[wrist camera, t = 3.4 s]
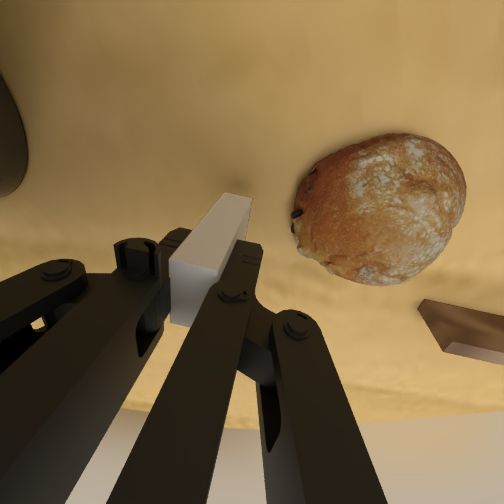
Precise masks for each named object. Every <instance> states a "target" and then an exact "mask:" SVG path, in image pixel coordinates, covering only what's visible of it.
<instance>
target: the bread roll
mask: <svg viewBox="0 0 504 504" xmlns="http://www.w3.org/2000/svg"><path fill="white" fill-rule="evenodd" d="M466 188H467V186H466V182H465V178H464V175H463V171H462V170H461V168H460V166H459V164H458V162H457V161H456V159H455V158H454V157H453V156H452V154H451V153H450V152H449V151H448V150H447V149H445V148H444V147H443V146H442V145H440V144H439V143H437V142H435V141H433V140H431V139H429V138H426V137H422V136H417V135H413V134H405V133H403V134H393V133H392V134H387V135H384V136H377V137H375V138H373V139H371V140H367V141H364V142H362V143H360V144H354V145H352V146H350V147H347V148H344V149H342V150H340V151H338V152H337V153H334V154H331V155H329V156H328V157H326V158H325V159H324V160H322V161H320V162H319V163H317V164H316V165H315V166H314V167H313V168H312V170H311V172H310V173H309V175H308V176H307V177H306V178H305V179H304V180H303V181H302V183H301V184H300V186H299V188H298V193H297V196H296V201H295V205H294V211H293V212H292V213H291V219H292V221H293V224H292V227H291V232H292V233H294V234H295V239H299V240H300V242H299V244H298V245H297V249H298V251H299V253H300V254H301V255H303V256H305V257H306V258H313V259H314V260H317V261H318V262H319V263H320V265H322V266H325V268H326V270H327V271H328V272H329V273H331V274H335V275H337V276H339V277H342V278H345V279H348V280H351V281H354V282H357V283H362V284H367V285H374V286H387V285H394V284H400V283H403V282H406V281H408V280H409V279H411V278H412V277H414V276H416V275H417V274H418V273H420V272H421V271H422V270H424V269H425V268H426V267H427V266H429V265H430V264H431V263H432V262H433V261H434V260H435V259H436V258H437V257H438V256H439V255H440V254H441V253H442V251H443V249H444V248H445V246H446V245H447V244H448V242H449V240H450V238H451V234H452V228H454V227H455V226H456V225H457V224H458V222H459V220H460V218H461V216H462V214H463V211H464V205H465V200H466Z"/></svg>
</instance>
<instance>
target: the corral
mask: <svg viewBox="0 0 504 504" xmlns="http://www.w3.org/2000/svg"><path fill="white" fill-rule="evenodd" d="M418 311H419V312H420V314H421V316H422V317H423V319H424V321H425V322H426V324H427V326H428V327H429V329H430V331H431V332H432V334H433V336H434V337H435V339H436V341H437V342H438V344H439V346H440V348H441V349H442V351H443V352H446V353H451V354H455V355H460V356H464V357H469V358H473V359H477V360H482V361H486V362H491V363H495V364H500V365H504V317H503V316H499V315H494V314H490V313H485V312H480V311H476V310H471V309H467V308H462V307H457V306H453V305H448V304H444V303H439V302H435V301H430V300H424V301H423V302H422V304H421V305H420V306H419V308H418Z"/></svg>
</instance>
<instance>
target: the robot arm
mask: <svg viewBox="0 0 504 504" xmlns="http://www.w3.org/2000/svg"><path fill="white" fill-rule="evenodd" d="M26 161H27V150H26V141H25V136H24V131H23V127H22V124H21V121H20V118H19V115H18V112H17V110H16V107H15V105H14V102H13V100H12V98H11V96H10V94H9V92H8V90H7V88H6V86H5V84H4V82H3V80H2V79H1V77H0V198H1V197H4V196H6V195H8V194H10V193H11V192H13V191H14V190H15V189H16V188H17V187H18V185H19V184H20V182H21V181H22V178H23V176H24V173H25V169H26ZM251 203H252V198H249V197H245V196H240V195H235V194H231V193H226V192H224V193H223V194H222V196H221V197H220V198H219V199H218V200H217V202H216V203H215V204H214V205H213V206H212V208H211V209H210V210H209V211H208V212H207V214H206V215H205V216H204V217H203V218H202V220H201V221H200V222H199V223H198V224H197V226H196V227H195V228H194V229H193V230H190V229H185V228H181V227H180V228H177V229H175V230H173V231H170V232H169V233H168V234H167V235H166V236H165V237H164V239H162V240H161V241H160V242H159V244H158V243H156V242H155V241H153V240H150V239H146V238H129V239H125V240H121V241H119V242H117V243H115V244H114V251H115V257H116V263H117V268H116V269H115V270H114V271H113V272H112V273H86V271H85V267H84V264H82V263H81V262H80V261H77V260H73V259H58V260H51V261H48V262H45V263H42V264H40V265H37V266H35V267H33V268H31V269H28V270H26V271H24V272H22V273H19V274H17V275H15V276H13V277H10V278H8V279H6V280H4V281H1V282H0V504H65V502H66V500H67V499H68V497H69V495H70V494H71V492H72V490H73V488H74V487H75V485H76V483H77V481H78V480H79V478H80V476H81V474H82V473H83V471H84V469H85V467H86V466H87V464H88V462H89V461H90V459H91V457H92V455H93V454H94V452H95V450H96V449H97V447H98V445H99V443H100V442H101V440H102V438H103V437H104V435H105V433H106V431H107V429H108V428H109V426H110V424H111V423H112V421H113V419H114V418H115V416H116V414H117V412H118V411H119V409H120V407H121V406H122V404H123V402H124V400H125V399H126V397H127V395H128V393H129V392H130V390H131V388H132V387H133V385H134V383H135V381H136V380H137V378H138V376H139V374H140V373H141V371H142V369H143V368H144V366H145V364H146V362H147V361H148V359H149V357H150V355H151V354H152V352H153V350H154V349H155V347H156V345H157V343H158V342H159V340H160V338H161V336H162V334H163V331H164V321H165V319H166V317H167V316H168V314H169V312H170V323H174V324H178V325H182V326H186V327H190V330H189V332H188V334H187V336H186V338H185V340H184V342H183V344H182V346H181V348H180V350H179V353H178V355H177V357H176V359H175V361H174V363H173V365H172V367H171V369H170V371H169V373H168V375H167V378H166V380H165V382H164V384H163V386H162V388H161V390H160V392H159V394H158V396H157V398H156V400H155V403H154V405H153V407H152V409H151V411H150V413H149V415H148V417H147V419H146V422H145V423H144V425H143V428H142V430H141V432H140V434H139V436H138V438H137V440H136V442H135V444H134V446H133V448H132V450H131V453H130V455H129V457H128V459H127V461H126V463H125V465H124V467H123V469H122V471H121V473H120V476H119V477H118V480H117V482H116V484H115V486H114V488H113V490H112V492H111V494H110V496H109V499H108V501H107V502H106V504H206V502H207V498H208V494H209V489H210V485H211V481H212V476H213V472H214V468H215V463H216V459H217V455H218V450H219V446H220V441H221V437H222V433H223V428H224V424H225V420H226V415H227V411H228V406H229V402H230V398H231V393H232V389H233V385H234V380H235V376H236V371H237V370H238V371H240V372H242V373H243V374H245V375H246V376H248V377H249V378H251V379H252V380H254V381H256V392H257V403H258V414H259V425H260V435H261V446H262V457H263V467H264V478H265V489H266V500H267V504H388V503H387V500H386V498H385V495H384V492H383V490H382V487H381V485H380V482H379V479H378V477H377V474H376V472H375V469H374V467H373V464H372V461H371V459H370V456H369V454H368V451H367V449H366V446H365V443H364V441H363V438H362V436H361V433H360V430H359V428H358V425H357V423H356V420H355V417H354V415H353V412H352V410H351V407H350V404H349V402H348V399H347V397H346V394H345V392H344V389H343V386H342V384H341V381H340V379H339V376H338V373H337V371H336V368H335V366H334V363H333V361H332V358H331V355H330V353H329V350H328V348H327V345H326V342H325V340H324V337H323V335H322V332H321V329H320V328H319V326H318V324H317V323H316V321H315V320H313V319H312V318H311V317H310V316H309V315H307V314H305V313H303V312H301V311H297V310H292V309H291V310H283V311H281V312H279V313H277V314H275V313H273V312H271V311H270V310H268V309H266V308H265V307H263V306H262V305H261V304H260V303H259V302H258V300H257V299H256V296H255V287H256V283H257V278H258V274H259V269H260V265H261V260H262V256H263V249H262V247H261V245H260V244H257V243H252V242H248V241H245V238H246V232H247V226H248V221H249V215H250V209H251ZM40 317H42V320H43V322H44V324H45V326H43V327H41V328H39V329H33V328H32V326H31V324H30V323H32V322H34V321H35V320H37V319H38V318H40Z"/></svg>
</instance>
